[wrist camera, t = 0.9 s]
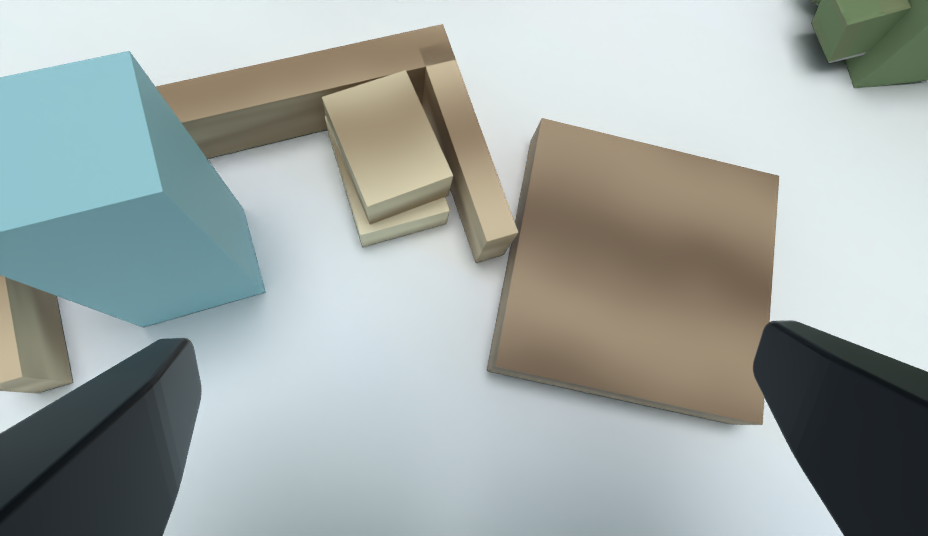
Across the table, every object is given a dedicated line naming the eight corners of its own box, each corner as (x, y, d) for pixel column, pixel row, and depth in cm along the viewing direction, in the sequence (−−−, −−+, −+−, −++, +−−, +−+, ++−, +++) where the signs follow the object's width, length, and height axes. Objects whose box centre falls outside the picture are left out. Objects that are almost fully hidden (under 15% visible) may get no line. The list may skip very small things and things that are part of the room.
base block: (732, 424, 24) (762, 424, 22) (486, 370, 23) (495, 366, 21) (750, 194, 26) (779, 175, 24) (530, 140, 26) (541, 118, 24)
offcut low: (445, 226, 25) (449, 210, 23) (363, 249, 24) (360, 235, 22) (409, 120, 26) (411, 96, 24) (329, 139, 25) (324, 116, 23)
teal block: (265, 292, 23) (163, 191, 13) (143, 327, 22) (-71, 249, 12) (243, 209, 24) (129, 50, 13) (123, 239, 23) (-94, 96, 13)
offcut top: (448, 195, 23) (453, 175, 21) (369, 224, 22) (367, 206, 20) (404, 98, 24) (405, 70, 22) (327, 123, 23) (321, 97, 21)
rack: (503, 254, 24) (518, 232, 21) (36, 393, 21) (-20, 389, 18) (437, 68, 26) (442, 24, 23) (-3, 169, 23) (-61, 133, 20)
